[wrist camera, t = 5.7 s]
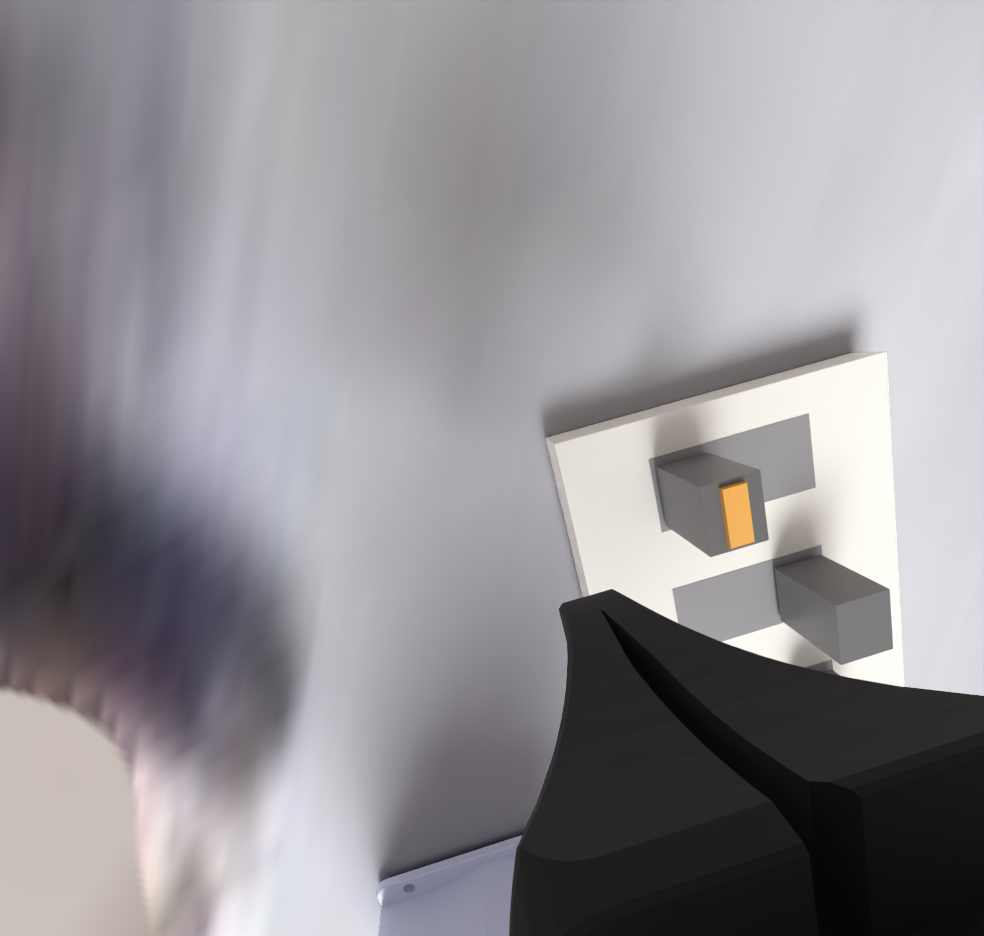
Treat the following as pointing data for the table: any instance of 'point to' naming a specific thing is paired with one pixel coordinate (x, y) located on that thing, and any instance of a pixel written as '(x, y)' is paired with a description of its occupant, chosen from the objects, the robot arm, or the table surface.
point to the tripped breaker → (713, 502)
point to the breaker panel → (789, 513)
